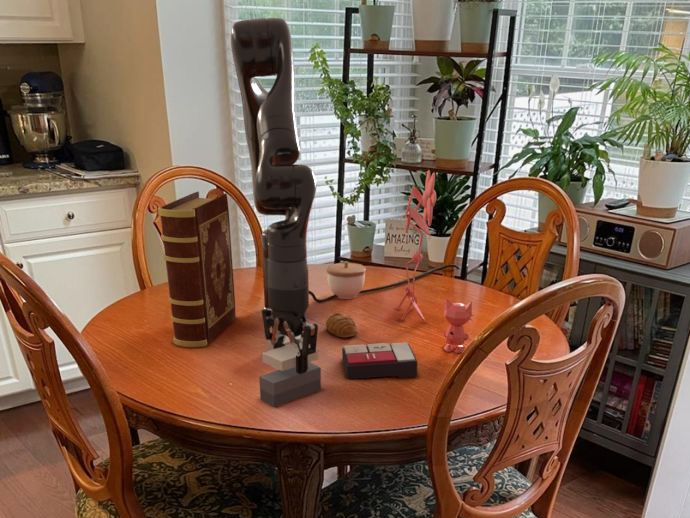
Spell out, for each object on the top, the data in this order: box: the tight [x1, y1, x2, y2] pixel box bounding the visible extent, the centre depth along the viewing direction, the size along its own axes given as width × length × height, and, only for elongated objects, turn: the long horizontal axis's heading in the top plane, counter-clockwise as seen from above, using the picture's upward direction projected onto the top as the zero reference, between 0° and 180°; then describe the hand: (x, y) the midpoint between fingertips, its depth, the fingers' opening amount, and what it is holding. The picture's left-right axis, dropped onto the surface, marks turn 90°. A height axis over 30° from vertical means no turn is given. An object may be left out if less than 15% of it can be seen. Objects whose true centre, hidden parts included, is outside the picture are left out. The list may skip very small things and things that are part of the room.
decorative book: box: [157, 191, 236, 349], centre depth 164 cm, size 22×8×30 cm, turn 168°
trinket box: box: [326, 260, 366, 300], centre depth 197 cm, size 11×11×9 cm
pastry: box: [325, 312, 358, 338], centre depth 173 cm, size 9×7×4 cm
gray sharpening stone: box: [258, 362, 322, 408], centre depth 141 cm, size 12×4×5 cm, turn 135°
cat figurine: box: [443, 298, 474, 354], centre depth 162 cm, size 7×7×12 cm
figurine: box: [396, 169, 444, 329], centre depth 177 cm, size 15×26×35 cm, turn 2°
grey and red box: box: [341, 341, 418, 380], centre depth 154 cm, size 11×4×15 cm
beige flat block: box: [262, 343, 319, 371], centre depth 138 cm, size 9×6×2 cm, turn 135°
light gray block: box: [266, 335, 310, 351], centre depth 161 cm, size 9×6×4 cm, turn 134°
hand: (290, 367), depth 139 cm, fingers closed on beige flat block, 6 cm apart
